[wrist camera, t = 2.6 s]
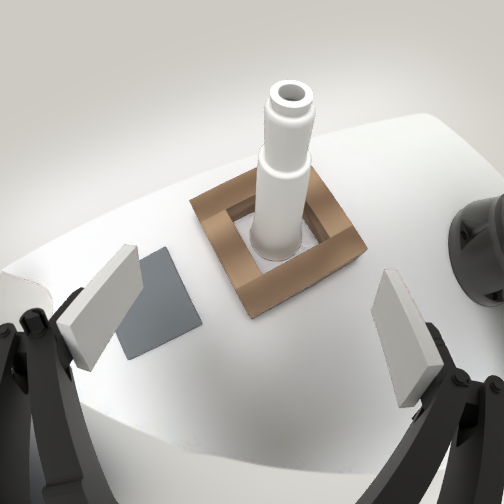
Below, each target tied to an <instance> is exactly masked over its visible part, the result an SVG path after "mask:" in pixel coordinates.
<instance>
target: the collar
mask: <svg viewBox="0 0 504 504" xmlns="http://www.w3.org/2000/svg"><path fill="white" fill-rule="evenodd" d="M256 180H257V167H256V168H254V169H252V170H250V171H248V172H246V173H244V174H241V175H239V176H237V177H235V178H233V179H231V180H229V181H227V182H225V183H223V184H221V185H219V186H217V187H215V188H213V189H211V190H209V191H207V192H205V193H203V194H201V195H199V196H197V197H195V198H193V199H191V200H189V201H190V203H191V205H192V207H193V209H194V211H195V213H196V215H197V217H198V219H199V221H200V223H201V225H202V227H203V229H204V231H205V233H206V235H207V237H208V239H209V241H210V243H211V245H212V247H213V248H214V250H215V252H216V254H217V256H218V258H219V260H220V262H221V264H222V266H223V268H224V270H225V271H226V273H227V275H228V277H229V279H230V281H231V283H232V285H233V287H234V288H235V290H236V292H237V294H238V296H239V298H240V300H241V301H242V303H243V305H244V307H245V309H246V311H247V313H248V314H249V316H250V318H251V319H252V318H254V317H256V316H258V315H260V314H262V313H264V312H265V311H267V310H269V309H271V308H273V307H275V306H276V305H278V304H280V303H282V302H284V301H285V300H287V299H289V298H291V297H293V296H294V295H296V294H298V293H300V292H301V291H303V290H305V289H307V288H308V287H310V286H312V285H314V284H315V283H317V282H319V281H320V280H322V279H324V278H326V277H327V276H329V275H331V274H332V273H334V272H336V271H337V270H339V269H341V268H342V267H344V266H346V265H347V264H349V263H351V262H352V261H354V260H356V259H357V258H358V257H359V256H360V255H362V254H363V253H364V252H365V251H366V250H367V249H368V248H367V246H366V245H365V243H364V242H363V240H362V239H361V237H360V235H359V234H358V232H357V231H356V229H355V228H354V226H353V225H352V223H351V221H350V220H349V218H348V217H347V215H346V214H345V212H344V211H343V209H342V208H341V207H340V205H339V204H338V202H337V201H336V199H335V198H334V196H333V195H332V193H331V192H330V191H329V189H328V188H327V186H326V185H325V184H324V182H323V181H322V179H321V178H320V177H319V175H318V174H317V172H316V171H315V170H314V168H313V167H312V166H311V170H310V177H309V183H308V189H307V194H306V199H305V205H304V210H303V216H302V217H303V218H304V220H305V221H306V223H307V224H308V226H309V227H310V229H311V231H312V232H313V234H314V235H315V237H316V239H317V240H318V242H319V243H320V244H318V245H316V246H315V247H313V248H311V249H309V250H307V251H306V252H304V253H302V254H300V255H298V256H296V257H295V258H293V259H291V260H289V261H287V262H285V263H284V264H282V265H280V266H278V267H276V268H274V269H273V270H271V271H269V272H267V273H265V274H263V275H262V274H261V272H260V270H259V268H258V267H257V265H256V263H255V261H254V259H253V258H252V256H251V254H250V252H249V250H248V249H247V247H246V245H245V243H244V242H243V240H242V238H241V236H240V234H239V233H238V231H237V229H236V227H235V225H234V224H233V221H235V220H237V219H239V218H241V217H243V216H245V215H247V214H249V213H251V212H253V211H255V203H256Z"/></svg>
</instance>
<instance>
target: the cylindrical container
mask: <svg viewBox="0 0 504 504" xmlns="http://www.w3.org/2000/svg"><path fill="white" fill-rule="evenodd" d="M32 308H41V309H43V310H44V311H45V314H46V316H47V319H48V321H49V319H50V318H51V317H52V314H53V303H52V298H51V295H50V293H49V291H48V290H47V289H46V288H45V287H44V286H43V285H40V284H37V283H34V282H31V281H28V280H25V279H22V278H19V277H16V276H14V275H11V274H8V273H5V272H3V271H0V325H2V324H4V323H12V324H14V326H15V328H16V329H17V331H18V332H24V330H23V328H22V326H21V324H20V322H19V320H20V317H21V316H22V314H23V313H24V312H26V311H27V310H29V309H32Z"/></svg>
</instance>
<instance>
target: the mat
mask: <svg viewBox="0 0 504 504" xmlns="http://www.w3.org/2000/svg"><path fill="white" fill-rule="evenodd" d="M139 262H140V269H141V275H142V281H143V287H144V288H143V289H142V291H141V292H140V294H139V295H138V297H137V298H136V300H135V301H134V303H133V304H132V306H131V307H130V309H129V311H128V312H127V314H126V315H125V317H124V318H123V320H122V321H121V323H120V325H119V326H118V328H117V329H116V331H115V332H116V334H117V337H118V339H119V341H120V344H121V346H122V348H123V351H124V353H125V355H126V357H127V359H128V360H131V359H133V358H135V357H137V356H139V355H141V354H143V353H145V352H147V351H149V350H151V349H153V348H156V347H158V346H160V345H162V344H164V343H166V342H168V341H170V340H172V339H174V338H176V337H178V336H180V335H182V334H184V333H186V332H188V331H190V330H192V329H194V328H196V327H198V326H200V325H202V322H201V320H200V318H199V316H198V314H197V312H196V310H195V308H194V306H193V303H192V301H191V299H190V297H189V295H188V293H187V291H186V289H185V287H184V285H183V283H182V281H181V278H180V276H179V274H178V272H177V270H176V268H175V265H174V263H173V261H172V259H171V257H170V254H169V252H168V250H167V248H166V247H163V248H161V249H159V250H158V251H156V252H154V253H152V254H150V255H148V256H147V257H145V258H143V259H141V260H139Z"/></svg>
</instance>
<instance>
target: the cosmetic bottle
mask: <svg viewBox="0 0 504 504" xmlns="http://www.w3.org/2000/svg"><path fill="white" fill-rule="evenodd" d="M314 119H315V106H314V104H313V92H312V90H311V89H310V88H309V87H308V86H307V85H306V84H304V83H301V82H299V81H295V80H283V81H280V82H277V83H275V84H274V85H273V86H272V87H271V89H270V97H269V98H268V100H267V101H266V104H265V108H264V134H265V135H264V139H265V142H264V144H263V145H262V147H261V148H260V151H259V154H258V165H257V180H256V203H255V216H254V221H253V224H252V227H251V230H250V241H251V244H252V247H253V248H254V250H255V251H256V252H257V253H258V254H259V255H260V256H262V257H263V258H265V259H268V260H272V261H281V260H285V259H287V258H289V257H291V256H293V255H294V254H295V253H296V252H297V251H298V249H299V247H300V245H301V242H302V230H301V224H302V216H303V210H304V205H305V199H306V194H307V189H308V183H309V177H310V170H311V163H312V157H311V153H310V151H309V149H308V147H309V143H310V138H311V133H312V129H313V123H314Z"/></svg>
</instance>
